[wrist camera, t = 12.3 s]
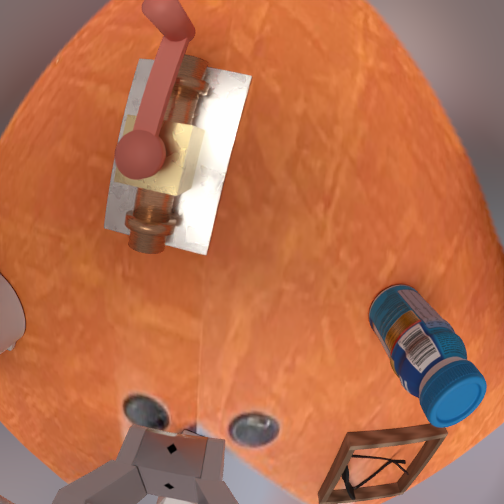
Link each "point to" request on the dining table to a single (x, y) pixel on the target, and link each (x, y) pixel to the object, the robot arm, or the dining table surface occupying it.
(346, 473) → the sunglasses
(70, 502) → the robot arm
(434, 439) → the glasses tray
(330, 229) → the dining table surface
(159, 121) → the lever
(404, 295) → the beverage bottle
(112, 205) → the valve body
